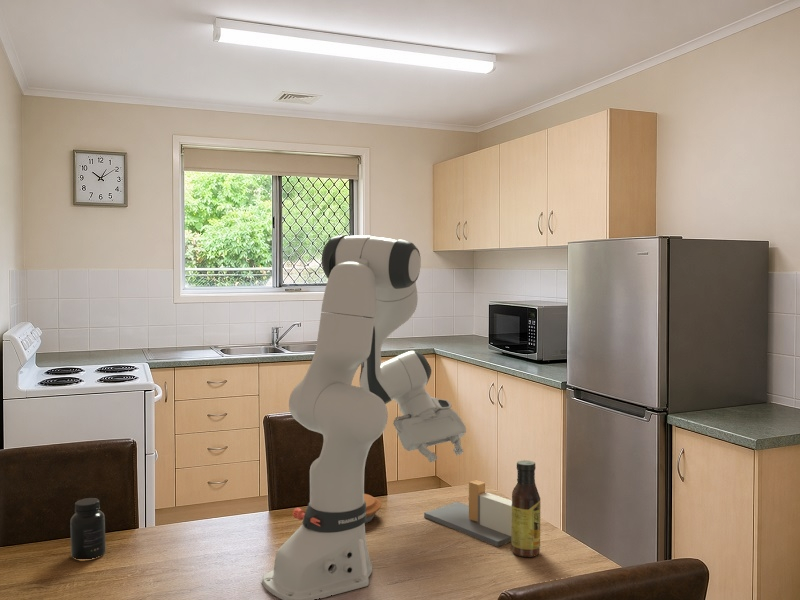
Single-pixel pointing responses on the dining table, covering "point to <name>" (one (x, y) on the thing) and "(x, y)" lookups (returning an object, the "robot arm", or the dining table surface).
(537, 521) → the sauce bottle
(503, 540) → the grey base plate
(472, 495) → the tan wooden beam
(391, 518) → the dining table surface
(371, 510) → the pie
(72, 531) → the supplement bottle
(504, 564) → the dining table surface
